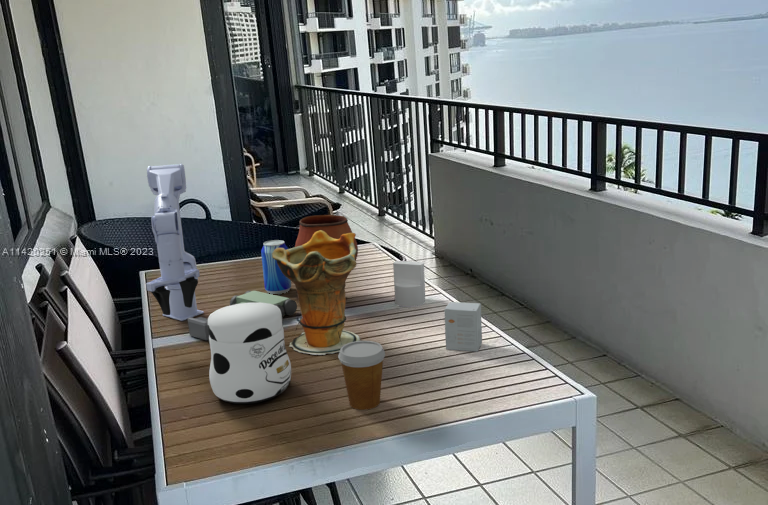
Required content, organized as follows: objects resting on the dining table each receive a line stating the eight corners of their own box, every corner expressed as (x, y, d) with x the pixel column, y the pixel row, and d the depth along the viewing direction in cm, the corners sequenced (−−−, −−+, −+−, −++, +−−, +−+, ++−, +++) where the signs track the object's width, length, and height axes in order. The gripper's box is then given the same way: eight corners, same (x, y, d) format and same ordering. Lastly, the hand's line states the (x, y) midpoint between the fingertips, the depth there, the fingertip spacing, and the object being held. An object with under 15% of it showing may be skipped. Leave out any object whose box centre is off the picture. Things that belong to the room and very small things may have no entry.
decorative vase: (264, 355, 167) (256, 242, 161) (306, 326, 188) (301, 226, 182) (342, 363, 160) (337, 246, 154) (377, 333, 181) (374, 229, 175)
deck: (217, 316, 198) (215, 302, 196) (254, 302, 208) (253, 288, 207) (260, 328, 187) (259, 312, 185) (297, 312, 197) (296, 297, 196)
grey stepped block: (189, 335, 183) (187, 318, 182) (217, 324, 191) (215, 308, 189) (206, 340, 179) (204, 323, 178) (234, 329, 186) (232, 312, 185)
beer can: (286, 295, 214) (282, 245, 210) (261, 295, 215) (256, 245, 211) (295, 287, 222) (291, 239, 217) (270, 287, 223) (266, 239, 219)
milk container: (299, 402, 143) (291, 321, 138) (214, 417, 138) (203, 333, 134) (286, 370, 159) (279, 296, 154) (210, 382, 154) (200, 307, 150)
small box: (482, 343, 168) (481, 303, 166) (477, 352, 163) (477, 310, 161) (450, 341, 171) (449, 301, 168) (445, 349, 166) (443, 308, 163)
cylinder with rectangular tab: (390, 305, 199) (388, 266, 196) (401, 296, 207) (399, 257, 204) (419, 308, 196) (418, 267, 193) (429, 298, 204) (428, 259, 201)
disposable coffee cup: (341, 394, 145) (337, 341, 142) (385, 390, 146) (382, 338, 143) (342, 415, 136) (338, 359, 133) (389, 411, 137) (386, 356, 134)
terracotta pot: (338, 313, 195) (332, 227, 189) (284, 305, 205) (277, 223, 198) (372, 293, 211) (368, 214, 205) (321, 286, 221) (315, 210, 214)
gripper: (155, 268, 164) (162, 321, 167) (204, 254, 175) (210, 304, 178) (138, 264, 168) (146, 317, 172) (187, 251, 179) (193, 300, 183)
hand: (177, 310), depth 175 cm, fingers open, 6 cm apart
